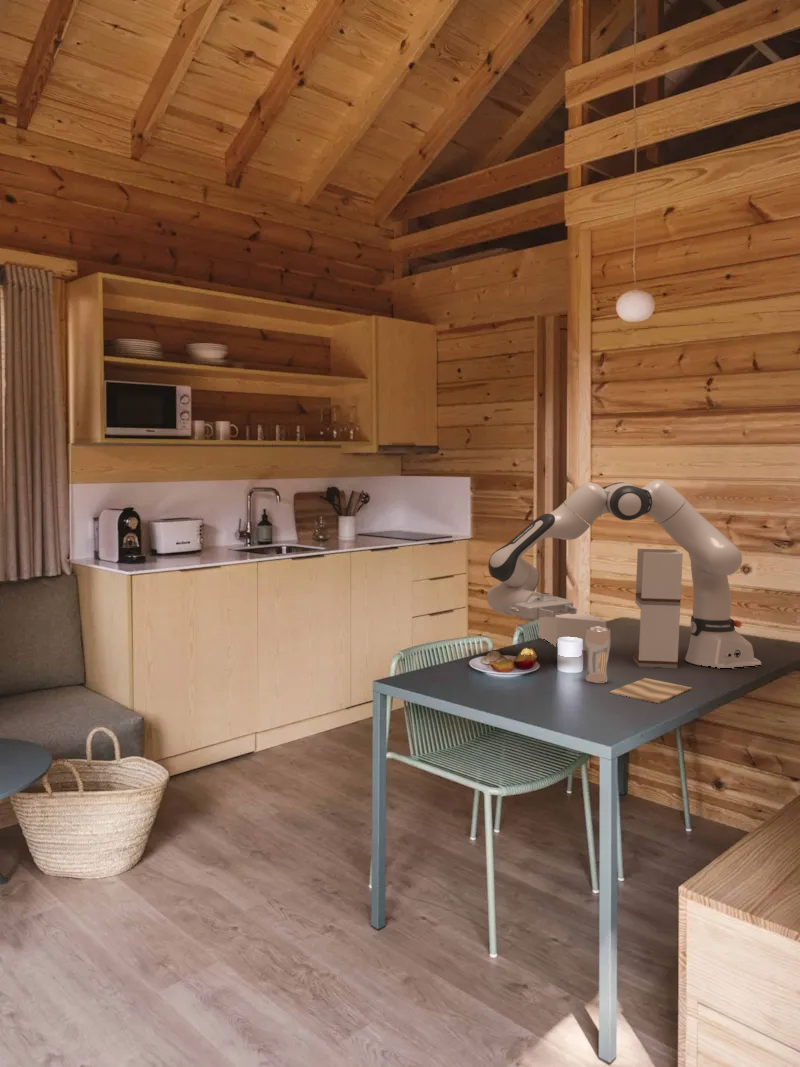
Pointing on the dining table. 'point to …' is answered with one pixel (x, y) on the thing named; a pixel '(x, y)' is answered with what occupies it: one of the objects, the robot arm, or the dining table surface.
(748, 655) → the robot arm
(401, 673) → the dining table surface
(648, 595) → the stacked tan pillar
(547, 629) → the tan angular block
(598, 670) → the beer glass
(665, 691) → the placemat
